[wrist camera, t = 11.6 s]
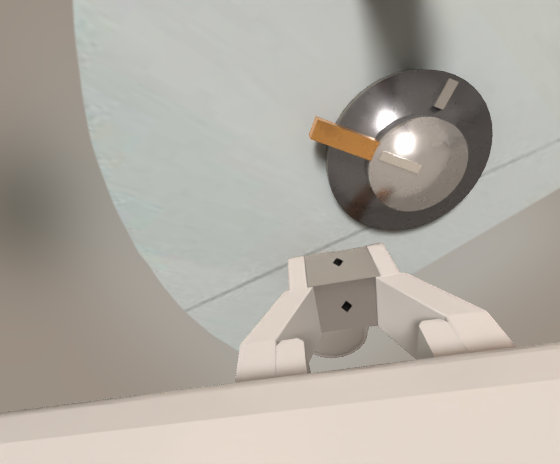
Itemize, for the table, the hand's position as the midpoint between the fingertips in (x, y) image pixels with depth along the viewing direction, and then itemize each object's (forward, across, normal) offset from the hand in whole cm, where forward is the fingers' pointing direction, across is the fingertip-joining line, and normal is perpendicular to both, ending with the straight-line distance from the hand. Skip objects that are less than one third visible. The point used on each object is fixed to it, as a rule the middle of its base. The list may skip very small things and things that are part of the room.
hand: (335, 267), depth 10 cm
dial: (+29, -10, +6) cm, 31 cm away
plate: (+31, -13, +8) cm, 35 cm away
